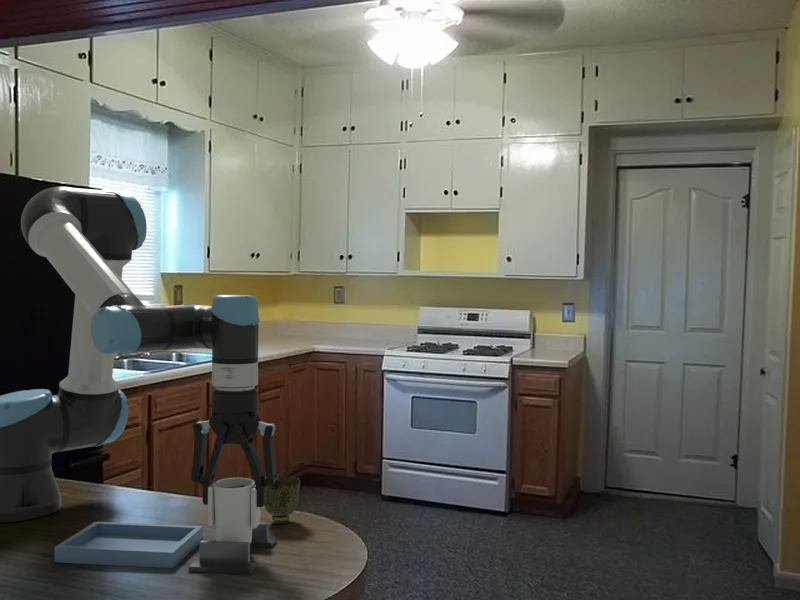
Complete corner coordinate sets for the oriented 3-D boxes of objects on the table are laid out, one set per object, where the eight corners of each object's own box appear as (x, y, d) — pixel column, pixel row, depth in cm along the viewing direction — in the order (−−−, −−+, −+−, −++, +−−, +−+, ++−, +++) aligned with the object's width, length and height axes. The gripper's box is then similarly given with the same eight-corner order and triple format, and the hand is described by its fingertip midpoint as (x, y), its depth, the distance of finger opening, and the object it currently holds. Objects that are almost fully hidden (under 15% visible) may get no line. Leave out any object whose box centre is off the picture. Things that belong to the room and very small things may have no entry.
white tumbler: (231, 533, 130) (232, 475, 129) (262, 539, 126) (262, 481, 126) (205, 544, 124) (205, 484, 123) (236, 552, 121) (237, 490, 120)
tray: (95, 535, 134) (95, 521, 134) (202, 540, 132) (202, 526, 132) (54, 562, 121) (54, 547, 121) (172, 568, 119) (172, 552, 119)
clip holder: (221, 539, 133) (221, 516, 133) (276, 541, 132) (276, 519, 132) (188, 571, 118) (188, 546, 118) (250, 574, 117) (250, 549, 117)
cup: (254, 526, 140) (254, 483, 140) (271, 514, 147) (271, 474, 147) (290, 530, 138) (291, 487, 138) (306, 518, 145) (306, 477, 145)
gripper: (169, 389, 122) (168, 529, 122) (286, 392, 120) (285, 535, 120) (187, 382, 129) (186, 514, 130) (298, 385, 127) (297, 520, 128)
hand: (234, 524), depth 125 cm, fingers closed on white tumbler, 7 cm apart
